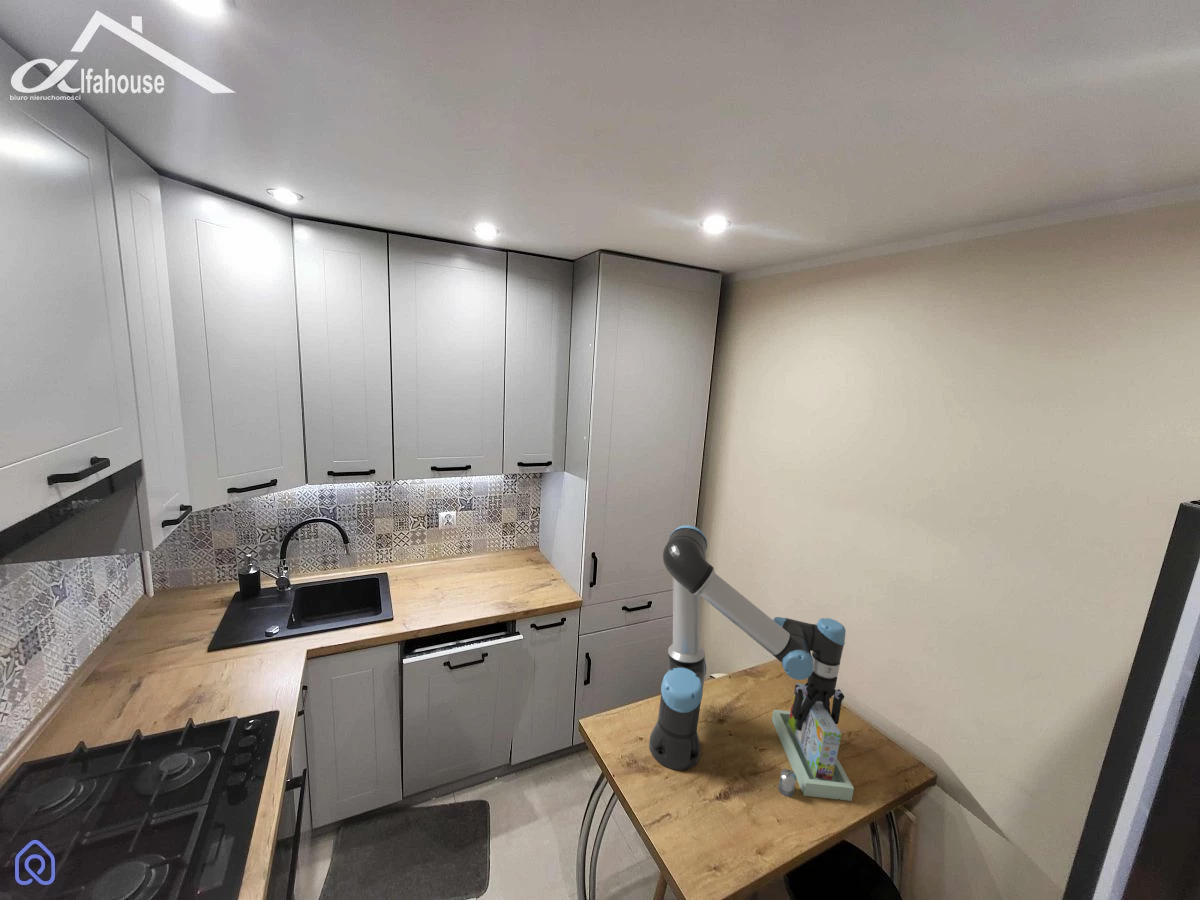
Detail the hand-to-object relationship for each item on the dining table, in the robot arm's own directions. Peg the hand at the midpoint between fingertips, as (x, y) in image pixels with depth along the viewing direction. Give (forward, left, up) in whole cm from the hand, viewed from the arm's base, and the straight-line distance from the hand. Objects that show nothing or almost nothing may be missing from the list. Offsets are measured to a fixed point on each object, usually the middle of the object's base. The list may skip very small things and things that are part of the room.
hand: (810, 739), depth 141 cm
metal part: (-11, -13, -6) cm, 18 cm away
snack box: (0, 0, -4) cm, 4 cm away
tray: (0, 0, -6) cm, 6 cm away
